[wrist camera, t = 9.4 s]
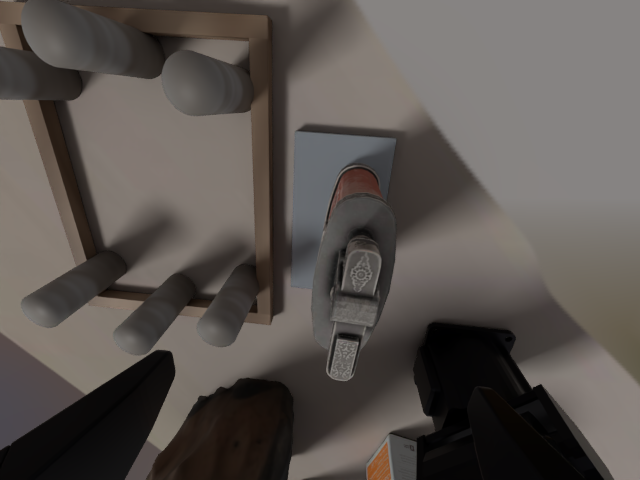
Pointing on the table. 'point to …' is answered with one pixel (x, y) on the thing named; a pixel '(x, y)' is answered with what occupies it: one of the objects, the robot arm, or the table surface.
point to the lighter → (352, 268)
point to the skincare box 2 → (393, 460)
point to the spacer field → (185, 95)
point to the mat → (327, 187)
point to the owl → (233, 436)
